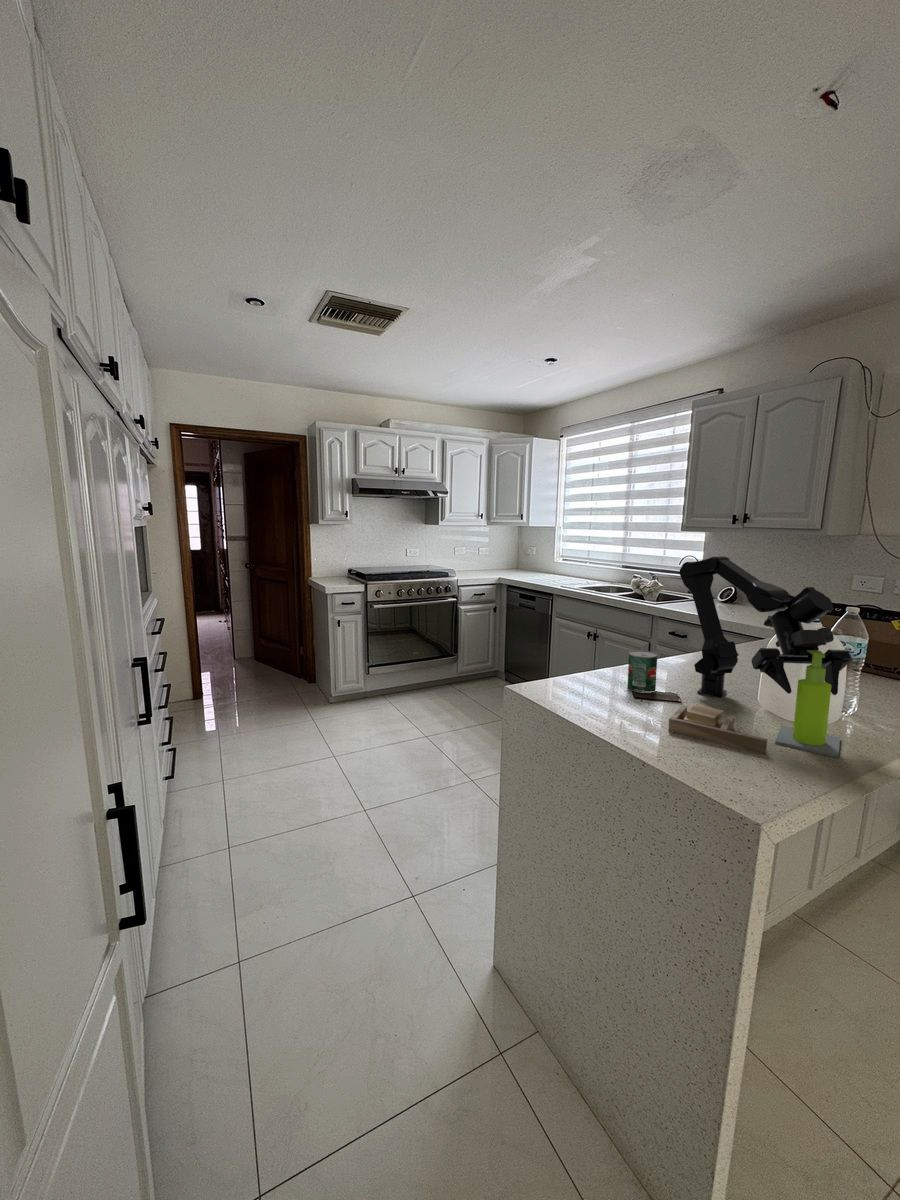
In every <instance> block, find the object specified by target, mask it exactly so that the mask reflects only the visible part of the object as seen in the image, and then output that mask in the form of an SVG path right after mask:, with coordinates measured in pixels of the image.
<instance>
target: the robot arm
mask: <svg viewBox="0 0 900 1200" xmlns="http://www.w3.org/2000/svg"><path fill="white" fill-rule="evenodd" d="M714 575H718V576H720V577H721V578H722V579H724V580H725V581H727V582H728V583H729V584H731V585H732V586H734V587H735V588H736V589H738V590H739V591H740V592H742V593H743V594H744V595H745V596H746V599H747V600H746V601H747V602H748V603H749V605H751V606H752V607H753V608H754V609H755V610H756V611H757V612H759V613H771V612H775V613H774V614H772V615H768V616H767V618H766V619H765V621H764V623H763V626H765V627H770V628H772V629H773V630H774V634H775V636H776V639H777V641H776V642H775V646H776V647H775V648H774V647H760V648H759V649H758V650H757V652H756V653H754V654H755V655H754V656H752V658H751V664H752V667H753V668H752V669H754V670H759V672H760V673H764V674H766V675H767V676H768V677H769V678H771V680H772V681H774V682H775V683H776V684H777V685H778V686H779V687H781V689H782V690H784V691H785V692H786V694H791V693H792V692H793V691H792V687H791V684H790V681H789V679H788V676H787V673H786V671H785V668H784V667H785V666H784V664H804V665H805V664H807V665H812V656H813V655H812V654H811V653H809V652H807V650H819V651H820V649H819V647H821V646H826V645H827V644H828V643H832V642H833V641H834V633H833V632H832V629H831V628H830V627H821V628H817V629H804V626H803V624H802V623H804V624H807V625H808V624H812V623H813V622H815V621H816V620H818V619H820V618H821V617H823V616H824V615H825V614H827V613H829V612H830V611H832V610H833V608H834V604H833V601H832V600H831V599H830V597H829V596H826V594H824V593H822V592H821V591H818V590H817V589H816V588H815V587H814V586H807V587H805V588H804V589H802V591H800V592H799V593H798V594H797V595H792V594H790V593H789V592H788V591H787V590H786V589H784V588H782V587H780V586H777V585H775V584H773V583H768V582H764V581H762V580H759V578H757V577H756V576H754V575H752V574H751V573H750V572H748V571H746V570H745V569H743V568H742V567H740V566H739V565H737V564H736V563H735V562H733V561H732V560H731V559H730V558H729V557H728V556H726V555H724V556H711V557H709V558H706V559H702V560H698V561H697V560H696V561H686V562H684V563H683V564H682V565H681V568H679V576H680V578H681V581H682V584H683V586H685V588H686V589H687V590H689V591H690V592H691V595H692V599H693V601H694V606H695V609H696V614H697V617H698V620H699V624H700V627H701V630H702V634H703V639H704V642H703V645H702V648H701V656H702V658H701V659H699V660H698V661H697V662H695V663H694V664H693V665H694V669H695V673H697V674H698V673H699V674H701V682H700V683H701V686H700V688H699V689H698V690H697V691H696V693H697V694H698V695H704V696H710V697H715V698H720V699H723V697H725V695H726V694H727V690H725V689H724V687H725V674H732V673H733V671H734V668H735V666H737V663H738V662H739V661H738V660H739V659H738V656H740V655H739V653H738V651H737V647H736V643H735V641H729V640H728V639H727V638H726V637H725V636H724V632H723V628H722V625H721V621H720V618H719V615H718V610H717V607H716V604H715V600H714V595H713V593H712V589H711V588H712V585H713V582H714ZM778 648H780V649H778ZM823 654H824V655H825V658H822V664H821V666H822V667H824V668H825V669H826V673H825V682H826V683H829V684H830V685H831V695H833V696H836V695H837V694H838V692H839V678H840V676H839V675H840V671H842V670H843V669H844V668H845V667H847V666H848V665H849V664H850V663H851V662H852V661H853V657H852V655H851V653H850V651H848V650H846V649H827V651H826V652H824V653H823Z"/></svg>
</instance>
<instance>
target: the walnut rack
mask: <svg viewBox="0 0 900 1200" xmlns="http://www.w3.org/2000/svg"><path fill="white" fill-rule="evenodd" d="M687 711H688V706H685V705H681V706H680V707H679V708H678V709H677V710H676V711H675V712H674V713H673V714H672V716H670V717H669V718H668V731H669V732H671V731H673V732H672V733H676V732H677V734H680V733H681V735H684V734H685V736H688V735H689V737H693V738H697V739H700V740H705V741H708V742H713V743H717V744H722V745H726V746H730V747H733V748H738V749H742V750H745V749H746V750H745V751H749V750H750V752H753V751H754V753H758V754H762V755H766V753H767V747H768V738H764V737H760V736H755V735H750V734H746V733H743V732H739V731H738V732H737V731H734V729H735V720H736V719H735V718H736V716H734V715H728V716H727V718H726V719H725V720H724V722H722V726H721V728H716V727H712V726H707V725H703V724H699V723H694V722H690V721H685V720H684V718H685V717H686V714H687Z"/></svg>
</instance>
